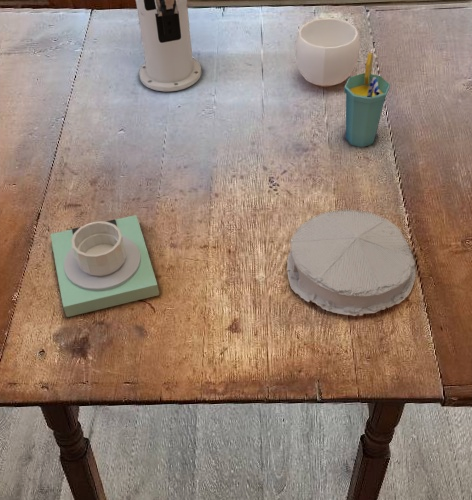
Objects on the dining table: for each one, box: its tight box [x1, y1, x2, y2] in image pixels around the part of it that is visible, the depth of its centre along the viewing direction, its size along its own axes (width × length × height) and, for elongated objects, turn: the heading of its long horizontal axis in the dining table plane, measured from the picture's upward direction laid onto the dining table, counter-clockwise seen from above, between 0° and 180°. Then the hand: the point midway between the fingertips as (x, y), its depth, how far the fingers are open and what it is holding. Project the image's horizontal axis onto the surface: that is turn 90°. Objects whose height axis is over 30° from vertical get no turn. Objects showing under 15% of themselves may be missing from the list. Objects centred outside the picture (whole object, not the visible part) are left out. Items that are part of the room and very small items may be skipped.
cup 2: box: [344, 52, 391, 148], centre depth 117 cm, size 14×8×15 cm, turn 2°
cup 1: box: [294, 17, 361, 88], centre depth 132 cm, size 12×12×10 cm
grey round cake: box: [286, 207, 417, 317], centre depth 101 cm, size 20×20×7 cm
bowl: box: [71, 220, 126, 276], centre depth 101 cm, size 7×7×4 cm
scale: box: [50, 214, 160, 318], centre depth 105 cm, size 16×14×3 cm
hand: (162, 23), depth 99 cm, fingers open, 9 cm apart
